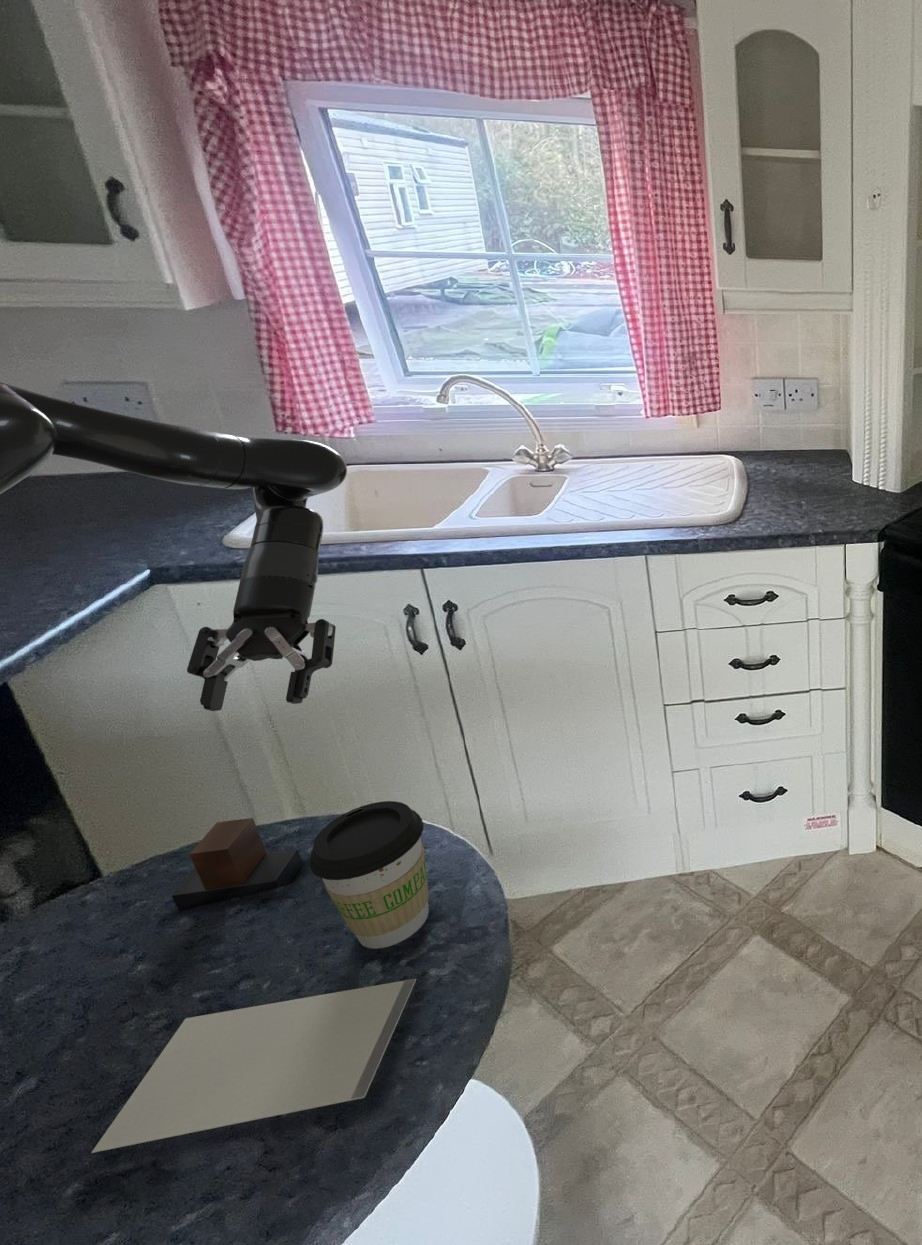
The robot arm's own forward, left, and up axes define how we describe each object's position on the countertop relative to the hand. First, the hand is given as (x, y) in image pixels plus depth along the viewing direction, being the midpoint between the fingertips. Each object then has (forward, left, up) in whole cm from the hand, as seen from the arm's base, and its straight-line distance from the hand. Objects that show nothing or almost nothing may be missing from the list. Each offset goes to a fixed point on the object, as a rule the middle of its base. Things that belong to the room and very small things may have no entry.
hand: (253, 706), depth 95 cm
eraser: (0, -11, -18) cm, 21 cm away
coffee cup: (+20, -22, -18) cm, 35 cm away
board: (+15, -36, -18) cm, 43 cm away
